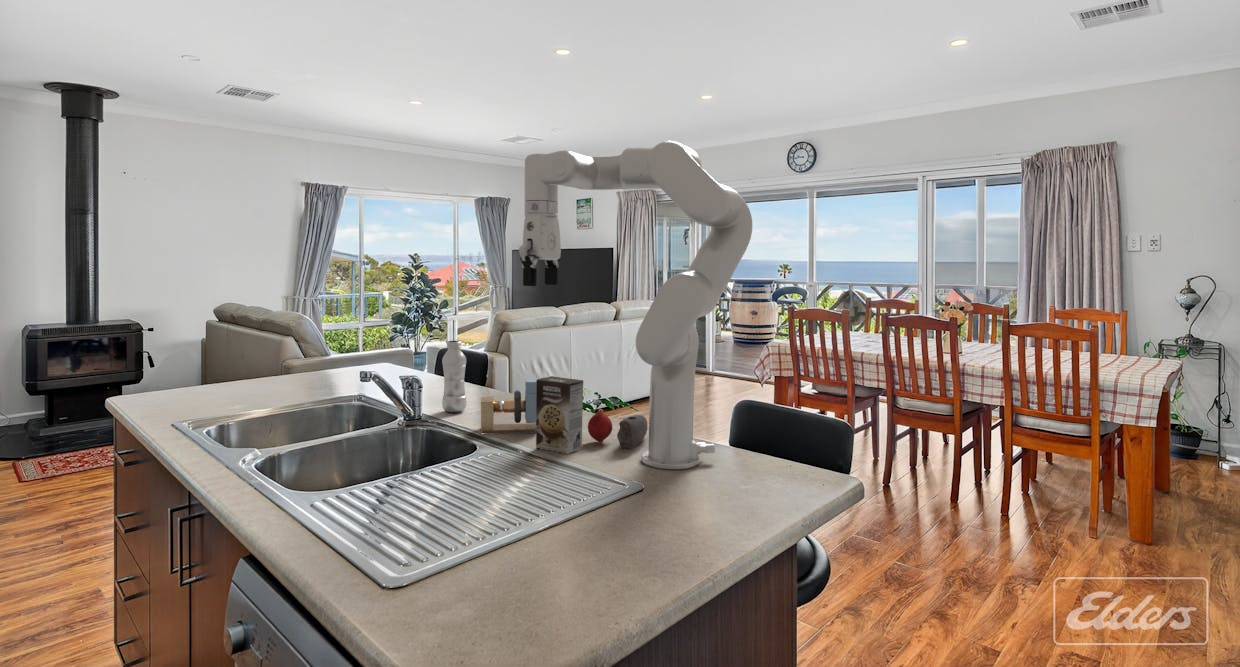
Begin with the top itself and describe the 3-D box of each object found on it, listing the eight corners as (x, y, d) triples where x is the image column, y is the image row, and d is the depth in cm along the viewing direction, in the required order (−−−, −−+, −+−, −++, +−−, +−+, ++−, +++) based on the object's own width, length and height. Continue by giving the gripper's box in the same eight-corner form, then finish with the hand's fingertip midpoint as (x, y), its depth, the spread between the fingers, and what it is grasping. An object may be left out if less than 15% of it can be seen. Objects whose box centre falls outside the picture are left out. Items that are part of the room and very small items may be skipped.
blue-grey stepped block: (540, 416, 176) (540, 378, 174) (542, 422, 169) (542, 383, 168) (525, 416, 175) (525, 378, 174) (526, 423, 168) (526, 383, 167)
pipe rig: (548, 425, 176) (548, 395, 175) (550, 431, 170) (550, 400, 169) (481, 427, 173) (481, 397, 172) (481, 433, 167) (480, 402, 166)
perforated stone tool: (634, 435, 168) (635, 407, 168) (654, 437, 166) (655, 409, 166) (612, 450, 154) (612, 421, 154) (633, 453, 153) (634, 423, 152)
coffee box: (534, 448, 155) (534, 379, 153) (550, 442, 160) (550, 375, 158) (568, 454, 150) (569, 383, 149) (583, 447, 156) (584, 379, 154)
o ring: (520, 417, 175) (520, 388, 174) (521, 425, 167) (521, 394, 167) (514, 418, 175) (514, 388, 174) (514, 425, 167) (514, 394, 166)
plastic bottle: (440, 410, 191) (439, 340, 189) (464, 408, 194) (463, 339, 192) (444, 415, 186) (443, 343, 183) (469, 413, 188) (468, 342, 186)
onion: (601, 447, 157) (601, 413, 156) (582, 442, 160) (582, 409, 160) (616, 441, 162) (617, 409, 161) (598, 437, 165) (598, 405, 164)
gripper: (536, 207, 145) (535, 287, 147) (573, 212, 160) (572, 284, 162) (506, 207, 148) (506, 285, 150) (545, 212, 163) (545, 283, 165)
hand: (540, 285), depth 156 cm, fingers open, 9 cm apart
